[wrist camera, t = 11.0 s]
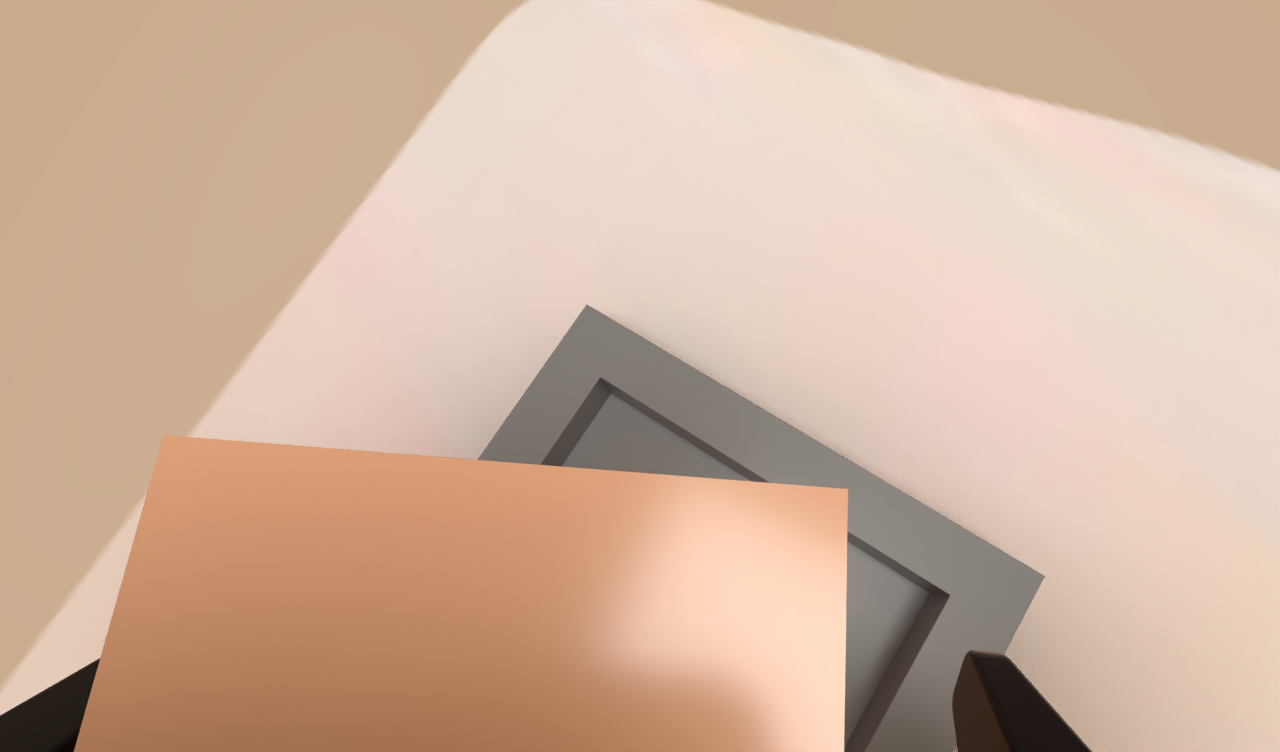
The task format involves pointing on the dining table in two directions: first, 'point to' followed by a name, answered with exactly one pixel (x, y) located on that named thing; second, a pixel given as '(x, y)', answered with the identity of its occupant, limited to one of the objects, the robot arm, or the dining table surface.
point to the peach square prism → (470, 609)
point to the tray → (778, 453)
